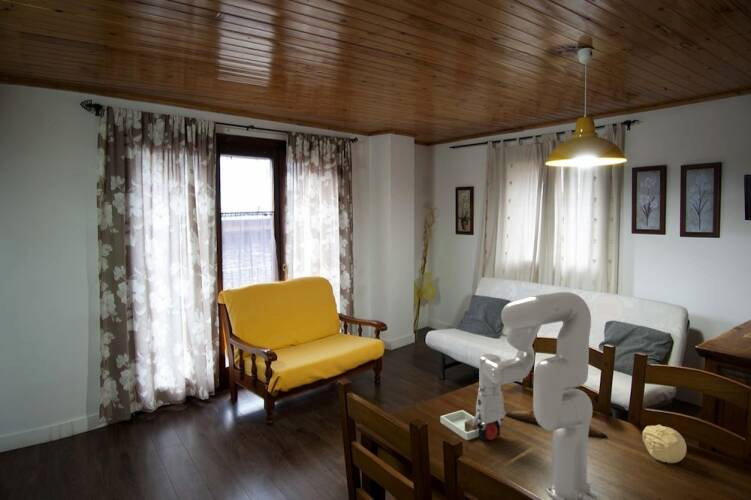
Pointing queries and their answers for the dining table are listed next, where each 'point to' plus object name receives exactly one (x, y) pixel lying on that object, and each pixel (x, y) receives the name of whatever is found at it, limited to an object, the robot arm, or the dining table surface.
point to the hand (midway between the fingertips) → (489, 436)
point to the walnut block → (470, 426)
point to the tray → (459, 424)
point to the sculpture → (664, 443)
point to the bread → (530, 417)
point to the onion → (491, 431)
